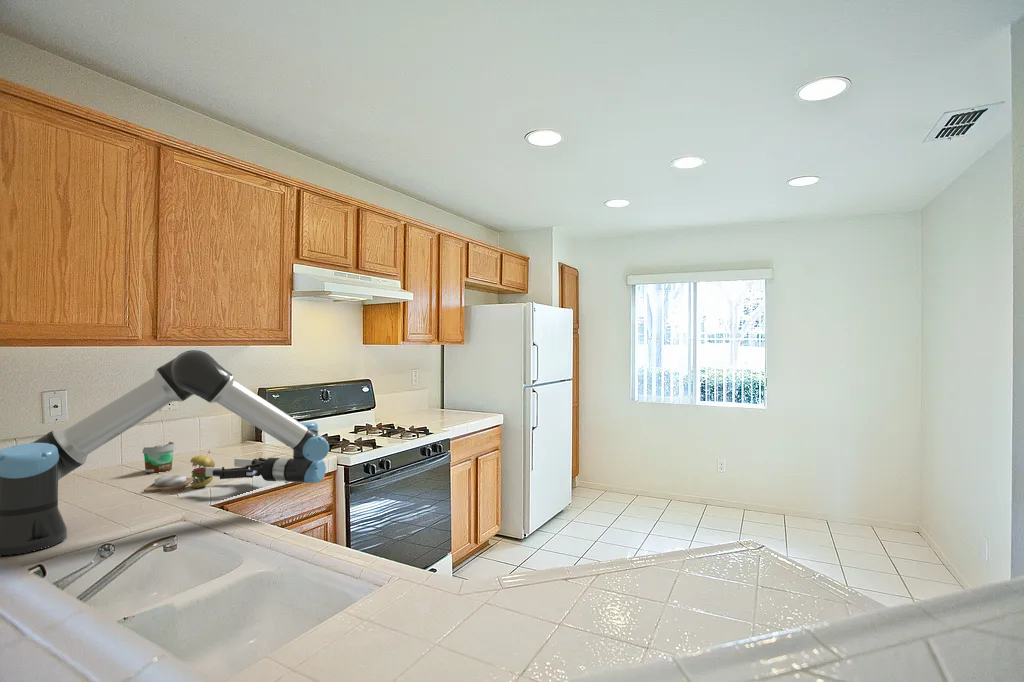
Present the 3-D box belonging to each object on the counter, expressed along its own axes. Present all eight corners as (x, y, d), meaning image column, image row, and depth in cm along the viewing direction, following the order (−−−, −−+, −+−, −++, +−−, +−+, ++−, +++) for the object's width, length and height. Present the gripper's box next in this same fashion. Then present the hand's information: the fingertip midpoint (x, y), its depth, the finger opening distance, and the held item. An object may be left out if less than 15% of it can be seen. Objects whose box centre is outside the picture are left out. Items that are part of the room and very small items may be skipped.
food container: (156, 475, 197) (156, 448, 197) (142, 474, 198) (142, 447, 198) (183, 468, 209) (183, 442, 209) (169, 467, 210) (169, 441, 210)
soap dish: (143, 493, 174) (143, 484, 174) (159, 482, 187) (159, 474, 188) (181, 490, 177) (181, 482, 177) (195, 480, 190) (195, 472, 190)
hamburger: (186, 486, 182) (186, 451, 182) (209, 482, 187) (210, 447, 187) (194, 490, 177) (194, 454, 177) (218, 486, 182) (218, 451, 182)
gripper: (253, 491, 165) (192, 487, 169) (299, 472, 190) (245, 469, 193) (253, 466, 165) (193, 463, 169) (299, 450, 190) (245, 448, 194)
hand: (221, 466), depth 181 cm, fingers open, 13 cm apart
